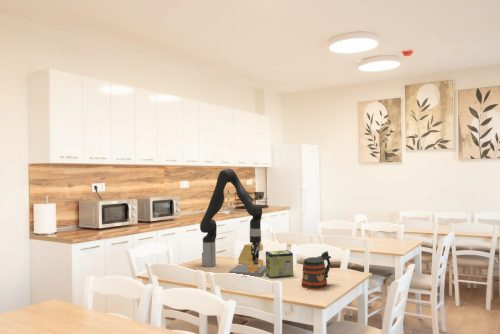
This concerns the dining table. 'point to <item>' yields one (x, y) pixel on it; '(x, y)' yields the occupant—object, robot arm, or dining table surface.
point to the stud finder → (253, 268)
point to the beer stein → (316, 272)
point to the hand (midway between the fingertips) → (255, 259)
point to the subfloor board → (244, 270)
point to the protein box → (279, 264)
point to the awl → (255, 262)
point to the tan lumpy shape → (248, 255)
